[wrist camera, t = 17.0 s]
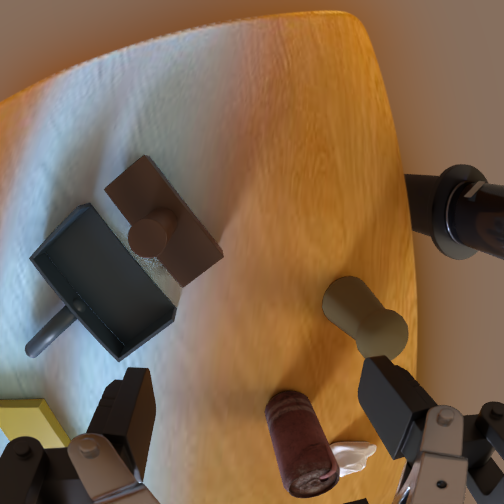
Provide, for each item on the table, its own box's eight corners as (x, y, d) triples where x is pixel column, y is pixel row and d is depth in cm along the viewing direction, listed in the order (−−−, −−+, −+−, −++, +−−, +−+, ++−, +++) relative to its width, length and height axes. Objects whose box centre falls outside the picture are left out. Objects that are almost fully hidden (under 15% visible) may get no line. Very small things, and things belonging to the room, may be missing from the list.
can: (318, 394, 40) (355, 469, 26) (293, 426, 41) (320, 502, 27) (280, 381, 39) (309, 463, 25) (255, 415, 39) (274, 497, 26)
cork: (367, 270, 36) (419, 305, 26) (370, 316, 38) (416, 360, 27) (319, 283, 36) (359, 325, 25) (324, 329, 38) (361, 381, 27)
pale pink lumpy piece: (378, 442, 39) (386, 470, 41) (367, 424, 43) (376, 453, 45) (316, 472, 38) (331, 496, 41) (308, 451, 43) (324, 478, 45)
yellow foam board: (-8, 399, 35) (62, 492, 41) (-14, 407, 32) (60, 499, 39) (43, 398, 35) (114, 495, 41) (38, 407, 33) (112, 504, 39)
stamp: (151, 156, 31) (122, 148, 20) (222, 248, 34) (228, 283, 23) (114, 187, 31) (71, 195, 20) (185, 277, 34) (175, 322, 23)
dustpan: (90, 202, 31) (78, 205, 28) (177, 308, 35) (174, 321, 31) (-2, 303, 32) (-15, 312, 28) (73, 387, 35) (65, 401, 32)
